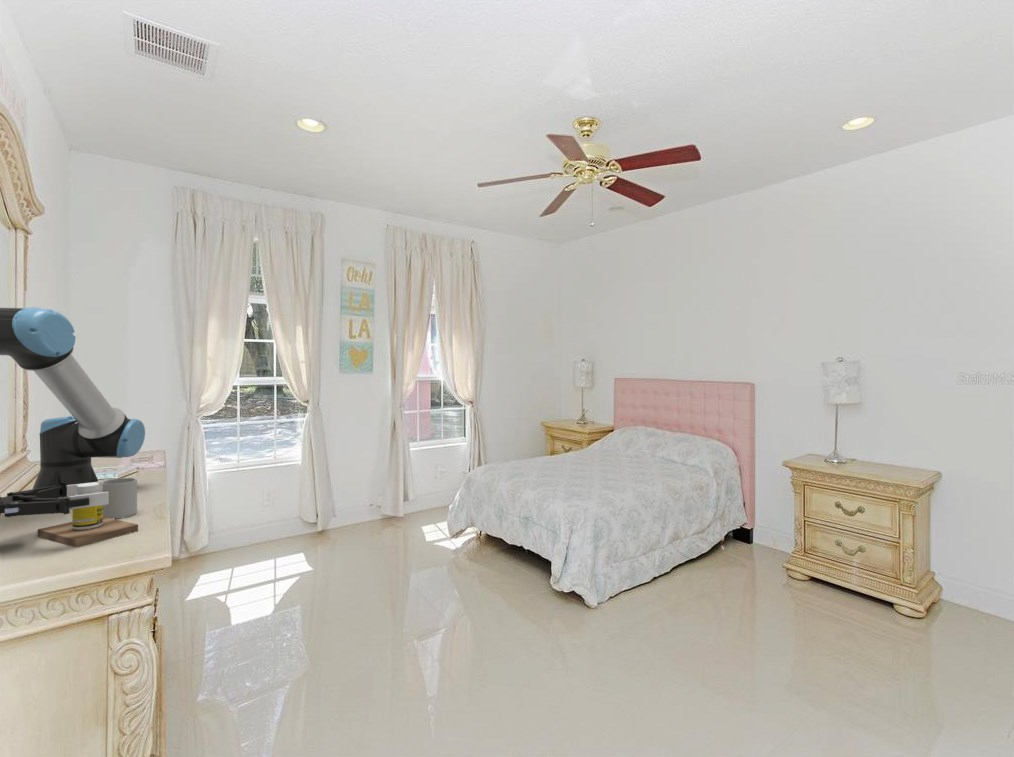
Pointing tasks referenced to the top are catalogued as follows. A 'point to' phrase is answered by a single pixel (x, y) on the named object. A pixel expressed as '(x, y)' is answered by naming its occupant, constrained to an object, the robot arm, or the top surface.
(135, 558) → the top surface
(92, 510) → the supplement bottle
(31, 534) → the top surface
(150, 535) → the top surface
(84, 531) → the walnut board
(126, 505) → the cup
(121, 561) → the top surface
